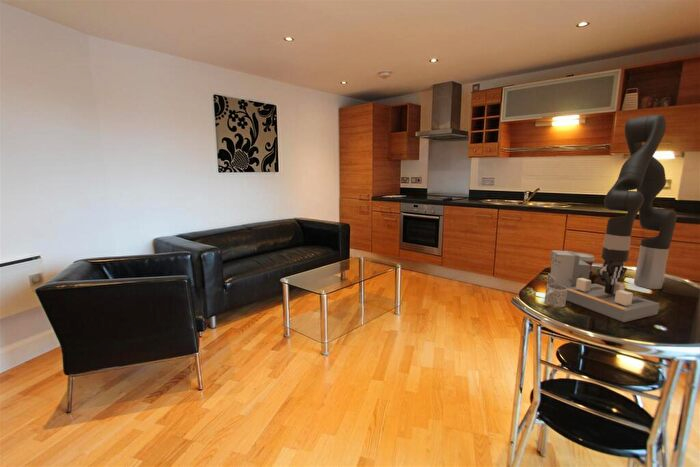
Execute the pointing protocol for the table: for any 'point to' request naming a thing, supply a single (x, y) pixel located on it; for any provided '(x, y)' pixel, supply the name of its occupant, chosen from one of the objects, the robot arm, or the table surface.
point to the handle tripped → (619, 287)
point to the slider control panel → (612, 304)
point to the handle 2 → (623, 297)
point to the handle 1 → (583, 284)
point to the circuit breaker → (567, 268)
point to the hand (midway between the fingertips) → (608, 293)
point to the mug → (555, 295)
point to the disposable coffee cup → (586, 258)
